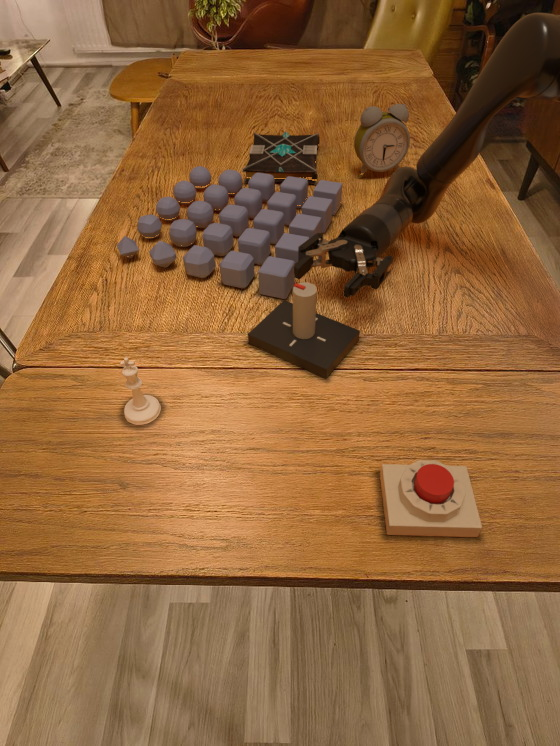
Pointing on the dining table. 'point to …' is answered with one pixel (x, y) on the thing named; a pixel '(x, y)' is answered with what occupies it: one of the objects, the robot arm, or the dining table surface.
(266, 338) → the panel
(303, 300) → the knob
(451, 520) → the box
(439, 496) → the button
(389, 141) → the alarm clock
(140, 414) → the chess piece
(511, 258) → the dining table surface
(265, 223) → the blocks
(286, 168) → the book
